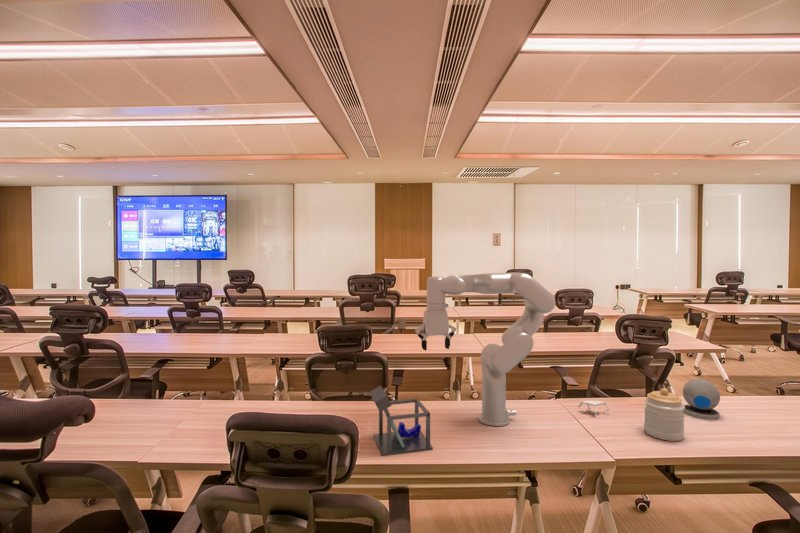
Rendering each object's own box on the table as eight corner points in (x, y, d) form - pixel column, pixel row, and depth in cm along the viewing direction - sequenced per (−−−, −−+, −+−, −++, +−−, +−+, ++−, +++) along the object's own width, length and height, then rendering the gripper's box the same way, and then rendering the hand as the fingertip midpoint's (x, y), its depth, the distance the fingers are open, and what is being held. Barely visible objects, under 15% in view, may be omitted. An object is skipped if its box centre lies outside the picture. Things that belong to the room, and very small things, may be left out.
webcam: (717, 412, 177) (718, 378, 177) (721, 422, 167) (722, 386, 166) (681, 406, 184) (682, 373, 184) (683, 415, 173) (683, 380, 173)
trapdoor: (390, 435, 153) (400, 429, 154) (398, 450, 141) (409, 443, 142) (369, 391, 151) (380, 385, 152) (375, 402, 139) (387, 396, 140)
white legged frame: (589, 418, 170) (589, 407, 170) (577, 411, 179) (577, 400, 179) (614, 416, 173) (614, 405, 173) (601, 409, 181) (601, 398, 181)
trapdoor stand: (419, 431, 158) (419, 398, 158) (432, 449, 143) (433, 413, 142) (373, 436, 153) (373, 402, 153) (381, 456, 138) (381, 418, 138)
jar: (689, 443, 147) (690, 395, 147) (649, 439, 151) (650, 392, 151) (677, 429, 160) (677, 384, 159) (639, 425, 164) (640, 381, 163)
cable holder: (399, 437, 148) (402, 426, 147) (397, 432, 151) (399, 422, 151) (420, 438, 150) (422, 428, 150) (417, 434, 153) (419, 423, 153)
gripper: (452, 305, 171) (452, 345, 171) (412, 306, 166) (412, 348, 167) (459, 307, 163) (459, 349, 164) (418, 309, 159) (418, 352, 160)
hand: (435, 349), depth 165 cm, fingers open, 9 cm apart
